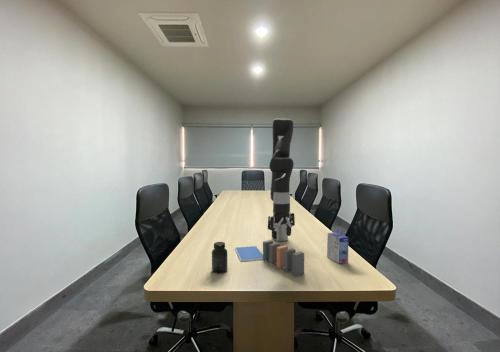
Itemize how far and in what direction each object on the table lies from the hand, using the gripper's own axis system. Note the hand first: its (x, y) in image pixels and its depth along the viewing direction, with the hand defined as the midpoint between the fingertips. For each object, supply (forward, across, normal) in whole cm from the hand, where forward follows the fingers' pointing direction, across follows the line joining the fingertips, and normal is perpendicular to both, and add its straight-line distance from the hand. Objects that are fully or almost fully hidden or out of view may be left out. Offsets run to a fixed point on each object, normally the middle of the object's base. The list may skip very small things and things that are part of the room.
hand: (281, 237), depth 107 cm
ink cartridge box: (+14, -27, +10) cm, 32 cm away
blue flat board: (+14, +3, -22) cm, 26 cm away
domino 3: (+13, 0, 0) cm, 13 cm away
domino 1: (+14, 0, -10) cm, 17 cm away
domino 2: (+13, 0, -5) cm, 14 cm away
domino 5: (+13, 0, +10) cm, 17 cm away
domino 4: (+13, 0, +5) cm, 14 cm away
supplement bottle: (+14, +25, -12) cm, 31 cm away
